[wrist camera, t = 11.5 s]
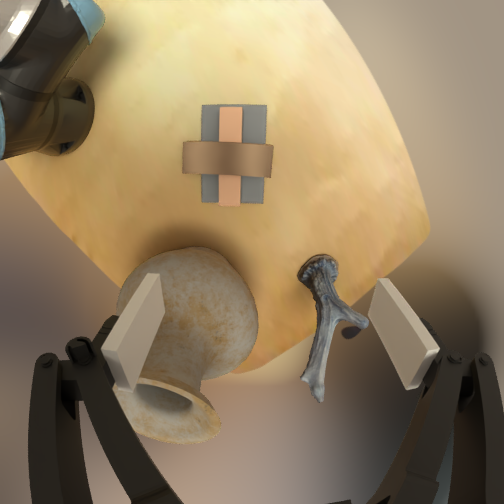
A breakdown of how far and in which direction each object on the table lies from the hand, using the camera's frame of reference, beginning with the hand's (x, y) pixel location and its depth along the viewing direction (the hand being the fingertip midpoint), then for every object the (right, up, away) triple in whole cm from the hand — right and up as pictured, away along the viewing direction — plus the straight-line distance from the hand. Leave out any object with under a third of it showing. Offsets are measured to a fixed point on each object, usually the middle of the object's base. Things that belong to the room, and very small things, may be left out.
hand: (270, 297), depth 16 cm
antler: (+10, -3, +36) cm, 38 cm away
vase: (-11, -3, +36) cm, 38 cm away
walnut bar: (-4, +16, +20) cm, 26 cm away
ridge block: (-4, +18, +27) cm, 33 cm away
